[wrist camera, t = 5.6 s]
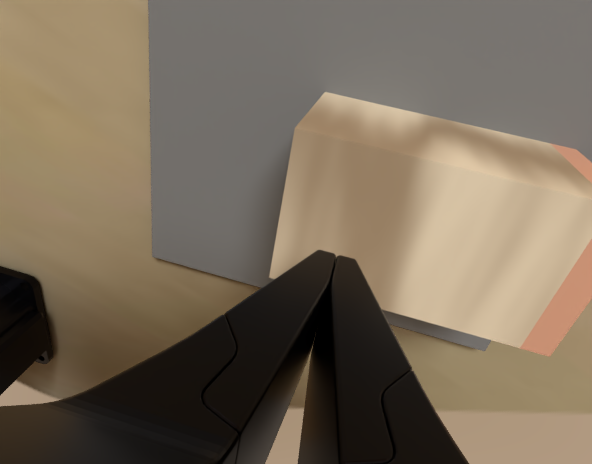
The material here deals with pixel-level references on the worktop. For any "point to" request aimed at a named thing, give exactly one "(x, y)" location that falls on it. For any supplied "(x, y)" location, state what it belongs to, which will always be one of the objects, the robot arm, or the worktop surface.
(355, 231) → the block
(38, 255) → the worktop surface
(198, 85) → the mat
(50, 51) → the worktop surface
